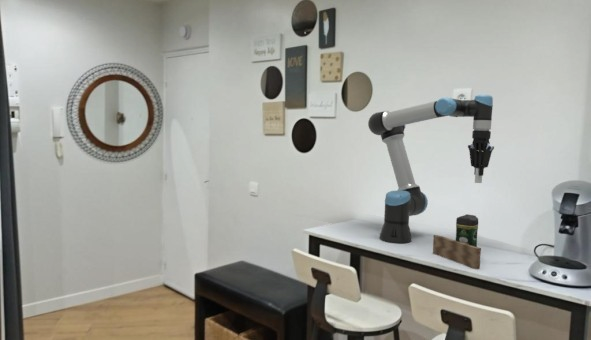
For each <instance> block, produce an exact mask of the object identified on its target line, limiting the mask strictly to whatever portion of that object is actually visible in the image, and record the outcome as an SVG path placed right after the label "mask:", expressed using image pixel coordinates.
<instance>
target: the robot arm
mask: <svg viewBox="0 0 591 340" xmlns="http://www.w3.org/2000/svg"><path fill="white" fill-rule="evenodd" d="M493 101H494V98H493V96H492V95H490V94H476V95H475V96H474V99H468V100H467V99H466V100H465V99H457V98H451V97H448V96H447V97H441V98H440V99H438V100H435V101H431V102H427V103H423V104H418V105H414V106H410V107H406V108H402V109H401V108H400V109H398V110H393V111H389V110H384V111H383V110H382V111H379V112H375V113H373V114H372V115H371V116H370V117H369V118H368V123H367V124H368V129H369V130H370V132H371V133H372V134H374V135H376V136H380V138H381V141H382V143H384V144H386V148H387V151H388V155H389V158H390V163H391V166H392V169H393V172H394V175H395V181H396V184H397V188H398V189H397V190H391V191H388V192H386V194H385V199H384V217H383V225H382V227H381V230H380V232H379V240H381V241H383V242H387V243H393V244H394V243H395V244H406V243H407V244H408V243H411V242H412V239H413V238H412V232H411V229H410V225H409V224H410V217H413V216H418V215H421V214H423V213H424V212H425V211H426V209H427V208H428V204H429V203H428V202H429V201H428V197H427V195H426V194H425V193H423V192H422V191H421V188H420V185H418V184H417V183H416V182H415V178H414V174H413V170H412V168H411V163H410V160H409V156H408V154H407V151H406V147H405V143H404V140H403V139H404V137H405V129H406V125H410V124H411V125H412V124H415V123H420V122H424V121H425V122H426V121H430V120H433V119H439V118H444V117H448V116H449V117H451V118H453V117H454V118H461V117H462V118H464V117H465V118H468V117H471V118H473V122H472V123H473V124H472V133H471V134H472V137H471V138H472V139H473V140H472V142H471V144H468V145H467V148H468V151H469V160H470V166H471V167H473V168H474V173H473V174H474V183H475V184H482V183H483V176H484V171H485V170H484V169H486V168H489V163H490V160H491V157H492V156H491V155H492V153H493V150H494V149H495V146H492V145H491V144H490V143H491V142H490V139H491V131H490V130H492V118H493V117H492V116H493V107H494V105H493V104H494V103H493Z"/></svg>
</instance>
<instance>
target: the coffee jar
mask: <svg viewBox="0 0 591 340" xmlns="http://www.w3.org/2000/svg"><path fill="white" fill-rule="evenodd" d="M455 225H456V227H455V240H456V241H459V242H462V243H465V244H468V245H472V246H475V247H478V229H479V218H478V217H477V216H476V215H473V214H469V213H468V214H463V215H461V216H457V217H456V221H455Z"/></svg>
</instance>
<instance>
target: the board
mask: <svg viewBox="0 0 591 340" xmlns="http://www.w3.org/2000/svg"><path fill="white" fill-rule="evenodd" d="M432 241H433V243H432V254H433V255H436V256H439V257H442V258H445V259H447V260H450V261H452V262H456V263H458V264H461V265H463V266H467V267H469V268H471V269H475V270H479V269H480V267H481V254H482V248H481V247H478V246H477V247H475V246H472V245H468V244H465V243H462V242H459V241H456V239H452V238H449V237H445V236H443V235H440V234H433V240H432Z"/></svg>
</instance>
